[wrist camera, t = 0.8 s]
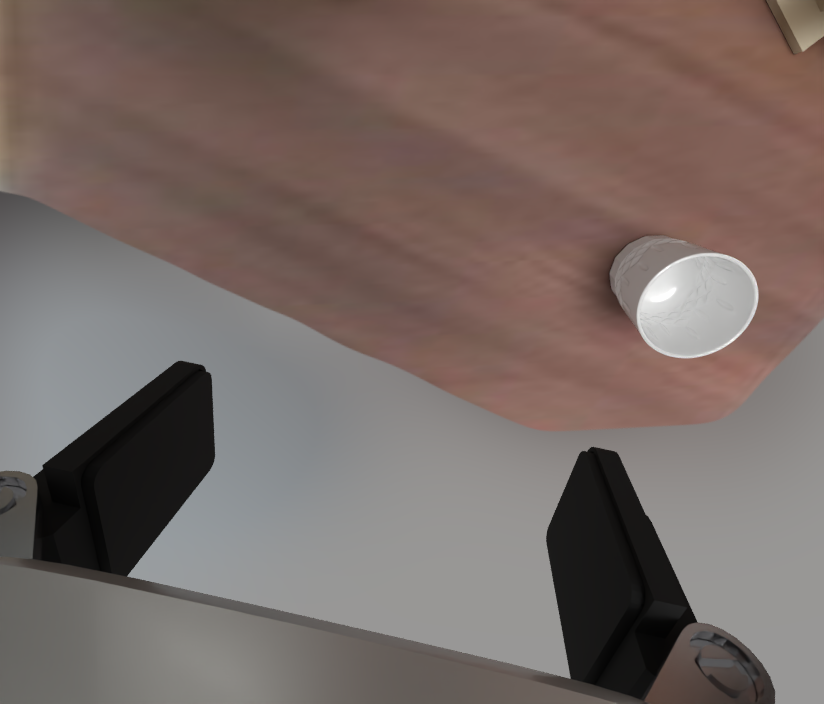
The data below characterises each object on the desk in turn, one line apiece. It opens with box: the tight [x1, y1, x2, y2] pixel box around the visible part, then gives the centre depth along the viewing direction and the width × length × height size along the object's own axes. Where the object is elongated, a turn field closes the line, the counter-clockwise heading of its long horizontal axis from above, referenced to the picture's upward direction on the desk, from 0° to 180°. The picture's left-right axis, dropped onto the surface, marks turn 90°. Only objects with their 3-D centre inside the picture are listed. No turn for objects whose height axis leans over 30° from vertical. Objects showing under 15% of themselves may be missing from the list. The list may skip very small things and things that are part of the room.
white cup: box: [609, 235, 758, 358], centre depth 36 cm, size 8×8×10 cm
